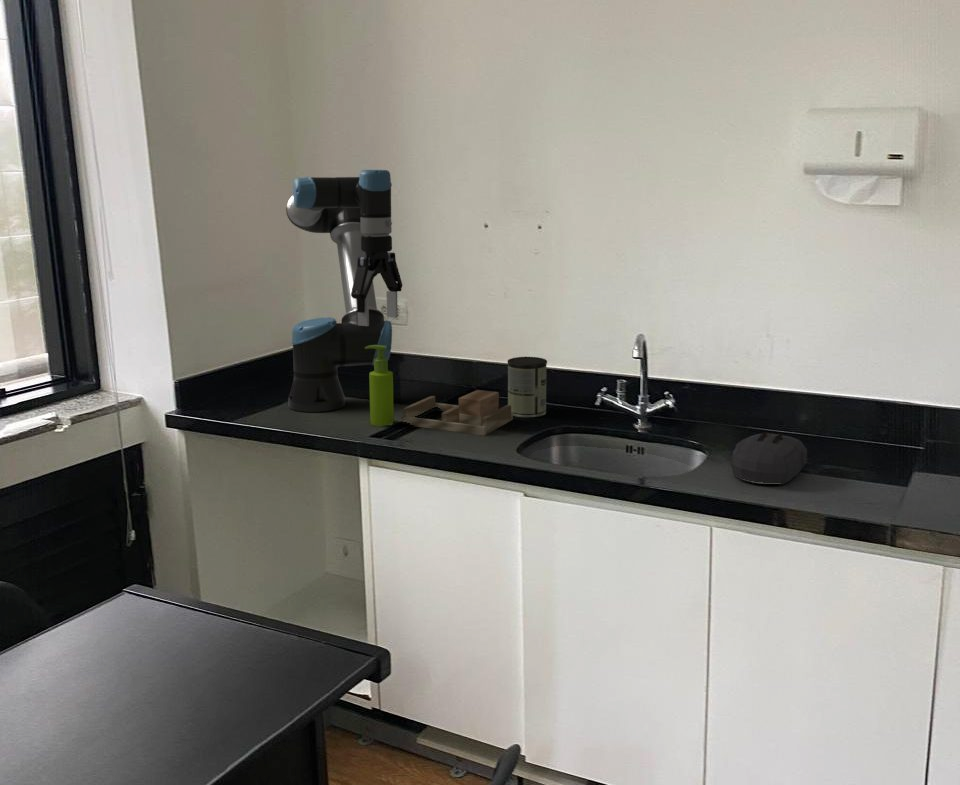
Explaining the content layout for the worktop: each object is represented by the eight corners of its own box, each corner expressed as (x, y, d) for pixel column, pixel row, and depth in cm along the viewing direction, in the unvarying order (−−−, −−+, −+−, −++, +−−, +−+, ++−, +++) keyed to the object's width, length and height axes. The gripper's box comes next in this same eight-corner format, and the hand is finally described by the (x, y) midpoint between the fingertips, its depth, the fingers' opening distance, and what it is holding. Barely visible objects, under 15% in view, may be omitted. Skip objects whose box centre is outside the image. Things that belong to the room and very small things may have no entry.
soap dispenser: (372, 419, 261) (370, 342, 256) (397, 421, 258) (395, 344, 254) (362, 425, 255) (360, 346, 250) (388, 427, 253) (386, 348, 248)
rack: (401, 424, 256) (401, 409, 255) (433, 409, 270) (433, 395, 269) (484, 435, 246) (484, 419, 245) (512, 419, 260) (512, 404, 259)
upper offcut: (458, 413, 252) (458, 398, 251) (477, 405, 260) (477, 389, 259) (480, 416, 249) (479, 400, 248) (498, 407, 257) (498, 392, 256)
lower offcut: (459, 429, 252) (459, 414, 251) (477, 420, 261) (477, 405, 260) (480, 432, 249) (480, 416, 249) (498, 423, 258) (498, 407, 257)
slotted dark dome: (743, 457, 229) (718, 482, 212) (746, 421, 227) (720, 443, 210) (812, 467, 222) (792, 493, 205) (815, 430, 220) (795, 454, 203)
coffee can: (508, 407, 273) (508, 356, 270) (546, 408, 272) (547, 356, 269) (505, 417, 263) (506, 363, 260) (545, 418, 262) (546, 364, 259)
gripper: (361, 239, 234) (364, 330, 239) (415, 231, 255) (416, 315, 260) (334, 238, 237) (337, 328, 242) (389, 230, 259) (391, 312, 264)
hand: (378, 321), depth 251 cm, fingers open, 13 cm apart
